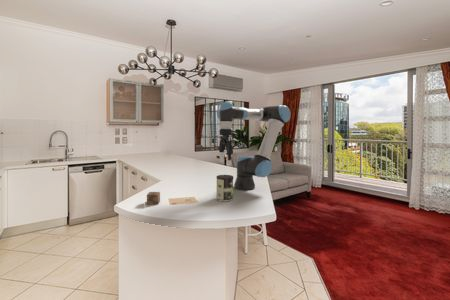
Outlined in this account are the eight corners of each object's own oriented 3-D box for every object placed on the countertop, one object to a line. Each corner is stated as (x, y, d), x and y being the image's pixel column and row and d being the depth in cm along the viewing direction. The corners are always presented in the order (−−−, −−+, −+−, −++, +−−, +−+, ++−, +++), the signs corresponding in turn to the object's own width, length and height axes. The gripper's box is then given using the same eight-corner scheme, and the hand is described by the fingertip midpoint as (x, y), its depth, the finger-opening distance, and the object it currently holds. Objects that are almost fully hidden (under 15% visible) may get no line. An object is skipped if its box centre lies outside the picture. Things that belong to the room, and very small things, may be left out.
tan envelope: (194, 197, 146) (194, 196, 146) (198, 203, 135) (198, 202, 135) (168, 199, 141) (168, 198, 141) (169, 205, 130) (169, 204, 130)
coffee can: (234, 197, 148) (234, 175, 147) (231, 202, 138) (231, 178, 137) (218, 196, 150) (218, 174, 149) (214, 200, 140) (214, 177, 139)
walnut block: (160, 202, 136) (159, 191, 135) (158, 205, 130) (157, 194, 130) (149, 202, 135) (149, 191, 135) (146, 205, 129) (146, 194, 129)
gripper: (214, 128, 151) (213, 161, 152) (226, 128, 127) (225, 167, 129) (225, 128, 153) (224, 161, 155) (239, 128, 129) (238, 167, 131)
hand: (225, 164), depth 142 cm, fingers open, 13 cm apart
